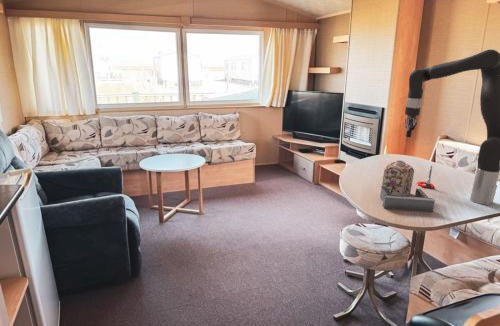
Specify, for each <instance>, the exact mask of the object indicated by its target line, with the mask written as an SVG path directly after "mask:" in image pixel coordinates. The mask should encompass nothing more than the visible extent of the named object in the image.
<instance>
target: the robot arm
mask: <svg viewBox="0 0 500 326" xmlns="http://www.w3.org/2000/svg"><path fill="white" fill-rule="evenodd" d="M474 70H475V71H476V70H480V73H481V78H482V81H481V83H482V84H481V89H480V96H479V97H480V99H479V100H480V101H479V102H480V104H479V105H480V113H481V117H482V119H483V121H484V124H485V127H486V139H485V140H484V141H483V142H482V143H481V145H480V148H479V150H478V151H479V152H478V156H477V168H476V173H475V177H474V180H473V184H472V185H473V186H472V188H471V193H470V198H469V200H470V201H471V202H473V203H477V204H479V205H486V206H490V205H492V204H493V203H494V200H495V196H496V192H497V188H498V184H497V182H498V180H499V179H498V178H499V176H500V52H499V51H498V50H497V49H485V50H484V51H482V52H481V51H480V52H479V53H477V54H473V55H470V56H468V57H464V58H462V59H456V60H452V61H447V62H443V63H440V64H435V65H432V66H430V67H426V68H425V67H424V68H420V69H419V68H417V69H414V70H412V71H411V73H409V79H408V93H407V99H406V105H405V111H404V114H405V115H406V116H407V117H406V118H405V119H404V121H405V129H406V133H405V137H406V138H411V137H412V131H414V130H415V128H416V126H417V116H420V113H421V110H422V109H421V108H422V99H423V93H424V89H423V82H426V81H431V80H437V79H442V78H446V77H451V76H454V75H457V74H460V73H464V72H467V71H468V72H469V71H474Z"/></svg>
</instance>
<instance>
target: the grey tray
mask: <svg viewBox="0 0 500 326" xmlns="http://www.w3.org/2000/svg"><path fill="white" fill-rule="evenodd" d="M414 194H415V195H414V196H410V195H407V196H397V195H391V193H390V192H389V190H388V189H387V187H386V186H382V185H381V189H380V194H379V195H380V196H379V197H380V199H381V201H382V208H383V209H386V210H397V211H398V210H399V211H412V212H425V213H433V211H434V206H435V201H436V199H435V198H432V197H429V196H428V195H427V194H426V193H425V192H424V191H423V190H422V189H421V188H416V189H415V193H414Z"/></svg>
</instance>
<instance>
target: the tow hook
mask: <svg viewBox="0 0 500 326" xmlns="http://www.w3.org/2000/svg"><path fill="white" fill-rule="evenodd" d="M432 172H433V165H430V169H429V171H428V177H427V180H426V181H417V183H416V185H418V186H419V187H421V188H426V189H435V185H434V184H433V183H431V178H432Z"/></svg>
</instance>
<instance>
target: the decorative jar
mask: <svg viewBox="0 0 500 326" xmlns="http://www.w3.org/2000/svg"><path fill="white" fill-rule="evenodd" d="M383 170H384V171H383V174H382V175H383V176H382V182H381V187H382V186H386V187H387V189H388V190H389V192H390V193H391V195H397V196H409V195H410V194H411V192H412V191H411V190H412V186H413V180H414V175H415V174H414V173H415V169H414V168H413V166H411V165H410V164H408V163H406V161H404V160H399V159H398V160H396V161H394V162H389V163H388V164H387V165H386V166H385V168H384V169H383Z"/></svg>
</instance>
